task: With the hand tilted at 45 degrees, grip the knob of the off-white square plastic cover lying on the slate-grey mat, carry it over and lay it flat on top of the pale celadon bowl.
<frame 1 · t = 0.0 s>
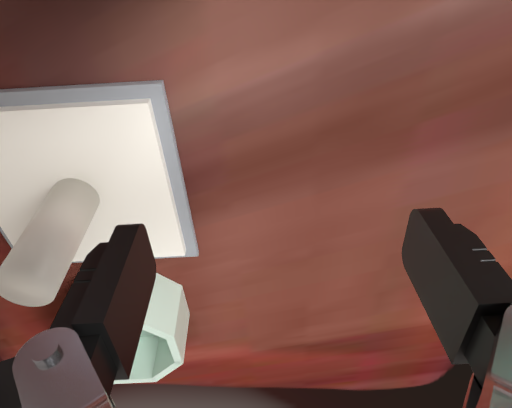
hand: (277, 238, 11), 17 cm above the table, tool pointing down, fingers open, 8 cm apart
cover: (79, 190, 31), point 1 cm above the table, touching mat
bowl: (131, 302, 41), on the table
mat: (82, 186, 31), on the table
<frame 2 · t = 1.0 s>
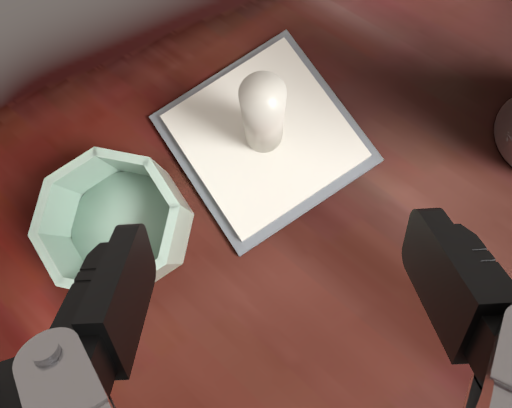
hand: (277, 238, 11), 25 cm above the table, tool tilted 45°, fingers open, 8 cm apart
cover: (264, 137, 37), point 1 cm above the table, touching mat
bowl: (130, 226, 37), on the table
mat: (264, 139, 38), on the table
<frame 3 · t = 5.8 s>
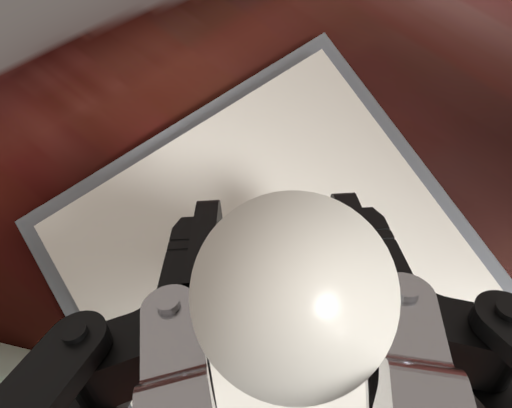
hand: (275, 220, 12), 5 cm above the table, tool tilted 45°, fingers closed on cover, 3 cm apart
cover: (275, 278, 16), point 1 cm above the table, touching gripper, mat
mat: (274, 277, 17), on the table
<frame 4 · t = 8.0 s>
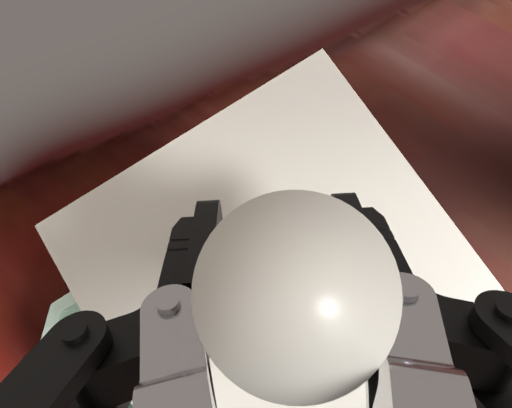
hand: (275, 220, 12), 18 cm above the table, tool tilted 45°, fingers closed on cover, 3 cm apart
cover: (276, 277, 16), point 14 cm above the table, touching gripper
bowl: (157, 344, 29), on the table
when the fingers open (12 cm above the table, at t = 10.4 s): cover drops 2 cm, resting on bowl.
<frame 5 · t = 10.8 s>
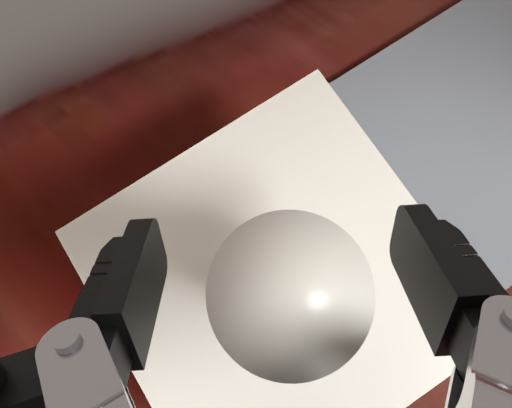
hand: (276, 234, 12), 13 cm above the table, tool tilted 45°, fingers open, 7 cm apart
cover: (275, 279, 18), point 6 cm above the table, touching bowl
mat: (470, 142, 25), on the table
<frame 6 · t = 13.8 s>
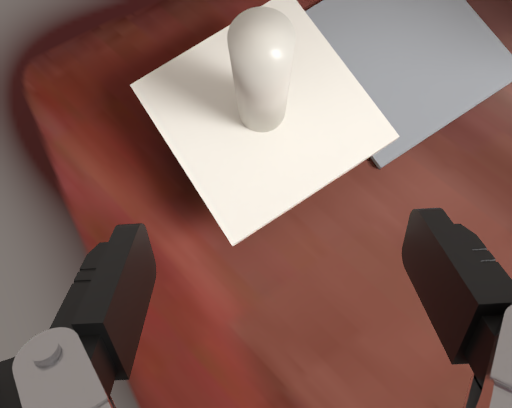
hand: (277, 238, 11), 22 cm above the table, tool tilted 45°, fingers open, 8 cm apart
cover: (262, 114, 29), point 6 cm above the table, touching bowl
mat: (397, 52, 37), on the table
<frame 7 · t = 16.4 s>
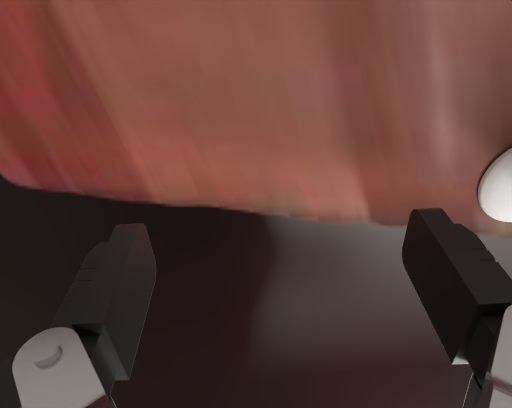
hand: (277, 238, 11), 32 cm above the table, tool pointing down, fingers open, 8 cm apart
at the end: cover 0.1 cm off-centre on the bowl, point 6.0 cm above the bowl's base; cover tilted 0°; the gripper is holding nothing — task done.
